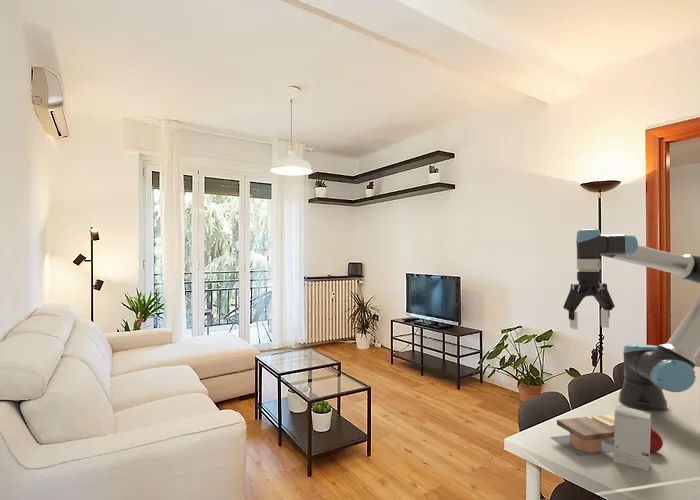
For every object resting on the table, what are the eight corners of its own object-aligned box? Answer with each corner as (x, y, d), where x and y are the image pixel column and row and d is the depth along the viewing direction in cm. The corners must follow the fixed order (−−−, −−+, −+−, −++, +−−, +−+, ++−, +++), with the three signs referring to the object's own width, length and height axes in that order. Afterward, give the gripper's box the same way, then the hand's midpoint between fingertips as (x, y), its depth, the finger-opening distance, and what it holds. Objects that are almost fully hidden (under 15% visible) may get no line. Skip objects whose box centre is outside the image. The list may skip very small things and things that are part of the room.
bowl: (586, 437, 123) (586, 423, 123) (608, 450, 115) (608, 435, 115) (564, 440, 122) (563, 426, 122) (585, 453, 114) (584, 438, 114)
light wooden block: (609, 429, 130) (609, 414, 130) (628, 439, 124) (628, 423, 124) (592, 431, 129) (591, 416, 129) (610, 441, 122) (609, 425, 122)
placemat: (591, 434, 127) (591, 432, 127) (624, 452, 115) (624, 450, 115) (549, 439, 124) (549, 437, 124) (578, 458, 112) (578, 456, 112)
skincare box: (613, 463, 109) (612, 410, 110) (615, 454, 114) (615, 404, 114) (650, 473, 104) (649, 418, 104) (651, 464, 109) (650, 411, 109)
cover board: (586, 421, 125) (586, 416, 125) (616, 436, 114) (616, 431, 114) (556, 424, 123) (556, 419, 123) (584, 440, 112) (584, 435, 112)
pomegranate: (667, 459, 111) (667, 431, 112) (644, 457, 113) (644, 429, 113) (655, 449, 117) (655, 422, 117) (634, 447, 118) (634, 421, 118)
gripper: (608, 270, 151) (608, 324, 150) (552, 270, 145) (553, 327, 145) (625, 270, 143) (626, 328, 143) (567, 271, 138) (568, 331, 138)
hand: (589, 328), depth 144 cm, fingers open, 13 cm apart
